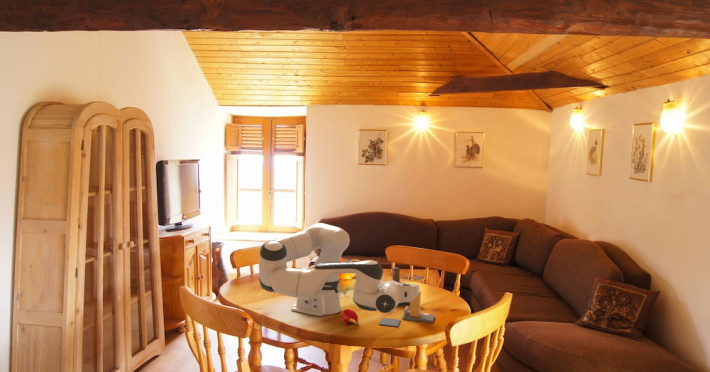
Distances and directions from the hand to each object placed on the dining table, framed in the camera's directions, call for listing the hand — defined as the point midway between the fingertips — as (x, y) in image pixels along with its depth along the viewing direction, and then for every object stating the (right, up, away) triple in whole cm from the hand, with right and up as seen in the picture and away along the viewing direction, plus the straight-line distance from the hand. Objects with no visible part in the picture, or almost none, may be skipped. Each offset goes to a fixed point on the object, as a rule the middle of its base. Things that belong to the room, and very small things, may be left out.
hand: (396, 283), depth 213 cm
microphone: (+1, -15, +30) cm, 34 cm away
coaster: (-3, -17, +1) cm, 17 cm away
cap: (-20, -17, -1) cm, 26 cm away
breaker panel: (+10, -17, +8) cm, 21 cm away
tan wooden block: (+9, -16, +8) cm, 20 cm away
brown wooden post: (0, -7, -1) cm, 7 cm away
